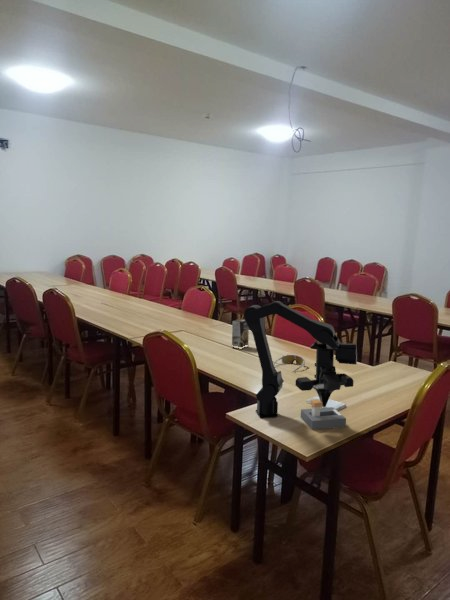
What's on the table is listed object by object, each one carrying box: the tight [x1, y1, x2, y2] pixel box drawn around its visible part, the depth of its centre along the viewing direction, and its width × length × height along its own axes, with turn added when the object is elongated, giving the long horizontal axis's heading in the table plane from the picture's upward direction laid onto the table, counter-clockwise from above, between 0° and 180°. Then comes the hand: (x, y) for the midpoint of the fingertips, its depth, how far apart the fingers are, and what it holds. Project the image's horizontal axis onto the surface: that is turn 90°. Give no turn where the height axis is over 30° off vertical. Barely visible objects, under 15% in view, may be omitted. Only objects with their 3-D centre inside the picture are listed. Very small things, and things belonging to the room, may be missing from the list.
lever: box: [309, 399, 322, 417], centre depth 148 cm, size 3×3×6 cm
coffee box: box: [231, 318, 250, 347], centre depth 252 cm, size 9×6×16 cm
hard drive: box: [305, 395, 347, 411], centre depth 165 cm, size 2×8×12 cm
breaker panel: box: [300, 407, 347, 431], centre depth 148 cm, size 12×10×3 cm
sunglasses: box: [273, 353, 306, 373], centre depth 215 cm, size 14×15×5 cm
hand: (323, 406), depth 148 cm, fingers closed
